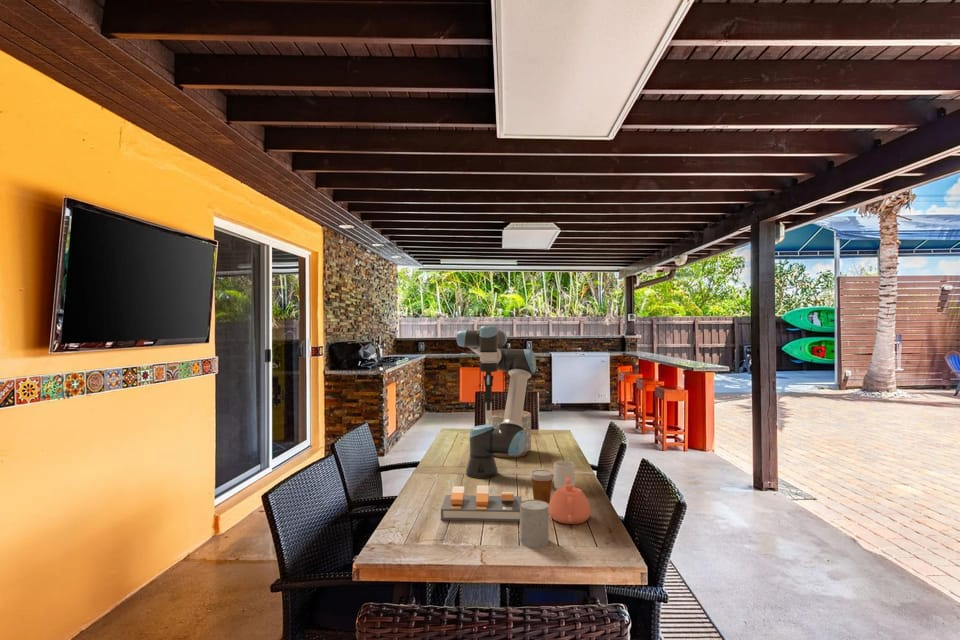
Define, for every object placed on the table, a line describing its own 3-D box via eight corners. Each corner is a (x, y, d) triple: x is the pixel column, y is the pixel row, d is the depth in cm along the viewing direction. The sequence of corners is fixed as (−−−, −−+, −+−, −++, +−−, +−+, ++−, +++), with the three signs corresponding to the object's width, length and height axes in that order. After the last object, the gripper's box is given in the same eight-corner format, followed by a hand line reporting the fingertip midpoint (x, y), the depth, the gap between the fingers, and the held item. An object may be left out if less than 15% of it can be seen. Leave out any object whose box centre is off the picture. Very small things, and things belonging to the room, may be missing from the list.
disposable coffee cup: (555, 499, 215) (555, 470, 215) (550, 507, 206) (550, 476, 206) (532, 497, 218) (532, 468, 218) (527, 504, 209) (527, 474, 209)
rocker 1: (453, 491, 206) (453, 486, 205) (464, 491, 205) (464, 486, 205) (450, 504, 196) (450, 499, 195) (462, 504, 196) (462, 499, 195)
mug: (574, 492, 224) (574, 466, 225) (553, 491, 226) (553, 465, 226) (575, 484, 236) (575, 459, 236) (555, 483, 238) (555, 458, 238)
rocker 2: (477, 489, 205) (477, 485, 205) (488, 490, 205) (488, 485, 204) (475, 506, 196) (475, 501, 195) (487, 506, 195) (487, 501, 195)
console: (445, 505, 209) (445, 491, 209) (521, 506, 207) (521, 493, 207) (440, 520, 192) (440, 505, 192) (522, 521, 191) (522, 507, 191)
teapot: (547, 506, 207) (547, 475, 207) (588, 508, 205) (588, 476, 205) (548, 528, 185) (548, 492, 185) (593, 530, 183) (593, 494, 184)
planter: (532, 458, 281) (532, 417, 281) (485, 458, 281) (485, 417, 282) (529, 447, 307) (529, 409, 307) (485, 447, 307) (485, 409, 307)
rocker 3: (501, 497, 204) (501, 491, 205) (513, 497, 204) (513, 492, 204) (501, 500, 194) (501, 494, 195) (513, 500, 194) (513, 494, 195)
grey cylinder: (517, 536, 178) (517, 500, 178) (545, 535, 179) (545, 499, 179) (522, 548, 168) (522, 509, 168) (551, 547, 169) (551, 509, 169)
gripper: (480, 361, 230) (480, 414, 229) (478, 363, 217) (478, 420, 216) (497, 361, 229) (497, 415, 229) (497, 363, 216) (497, 420, 216)
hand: (488, 417), depth 223 cm, fingers closed
